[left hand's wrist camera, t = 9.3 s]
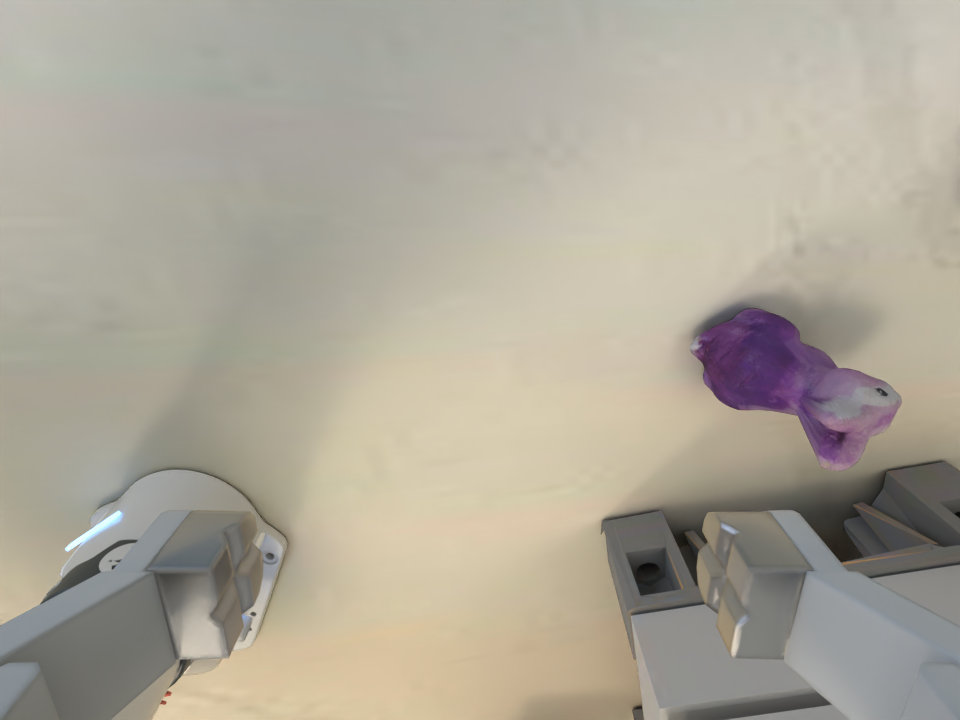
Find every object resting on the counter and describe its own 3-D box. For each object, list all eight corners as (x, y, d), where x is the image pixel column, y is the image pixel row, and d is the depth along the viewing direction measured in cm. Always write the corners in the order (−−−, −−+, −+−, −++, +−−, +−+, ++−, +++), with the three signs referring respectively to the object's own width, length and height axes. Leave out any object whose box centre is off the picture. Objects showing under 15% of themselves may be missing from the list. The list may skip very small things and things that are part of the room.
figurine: (830, 361, 51) (961, 449, 37) (723, 418, 53) (808, 521, 39) (789, 272, 48) (914, 332, 34) (677, 336, 50) (752, 416, 36)
